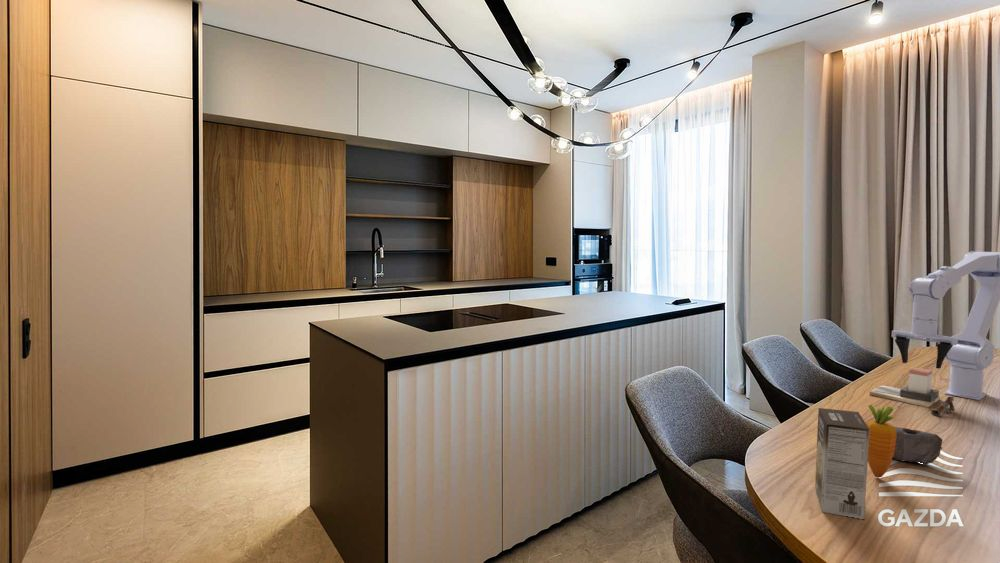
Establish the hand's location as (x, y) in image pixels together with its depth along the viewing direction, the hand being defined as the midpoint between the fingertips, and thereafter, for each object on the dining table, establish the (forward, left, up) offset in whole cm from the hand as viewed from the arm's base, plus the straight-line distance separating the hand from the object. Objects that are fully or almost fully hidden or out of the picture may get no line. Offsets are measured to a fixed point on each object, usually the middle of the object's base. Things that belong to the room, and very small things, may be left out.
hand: (921, 365), depth 143 cm
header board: (0, -4, -11) cm, 11 cm away
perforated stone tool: (+53, +8, -11) cm, 55 cm away
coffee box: (+84, +8, -11) cm, 85 cm away
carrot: (+67, +9, -11) cm, 68 cm away
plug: (0, 0, -10) cm, 10 cm away
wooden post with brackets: (+9, +7, -11) cm, 16 cm away
